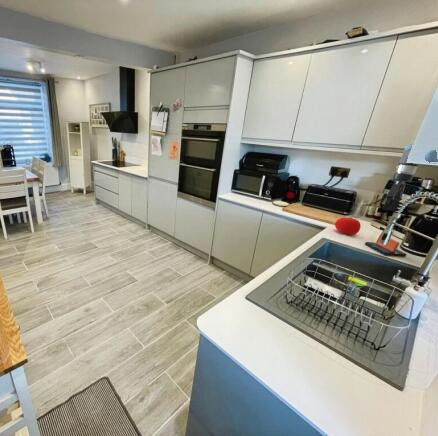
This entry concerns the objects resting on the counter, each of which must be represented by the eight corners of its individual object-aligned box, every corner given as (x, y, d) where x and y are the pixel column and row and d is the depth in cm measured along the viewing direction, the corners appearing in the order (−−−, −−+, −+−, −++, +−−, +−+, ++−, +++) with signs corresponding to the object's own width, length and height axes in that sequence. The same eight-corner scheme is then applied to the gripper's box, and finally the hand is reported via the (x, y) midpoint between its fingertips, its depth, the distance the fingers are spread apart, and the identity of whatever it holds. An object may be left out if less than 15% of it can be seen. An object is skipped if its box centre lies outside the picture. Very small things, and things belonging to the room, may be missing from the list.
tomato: (351, 238, 159) (358, 222, 155) (329, 230, 171) (334, 215, 167) (361, 235, 165) (367, 220, 161) (339, 228, 176) (344, 213, 172)
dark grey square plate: (409, 257, 137) (410, 254, 136) (382, 255, 137) (384, 252, 136) (385, 245, 151) (386, 242, 150) (361, 243, 151) (362, 240, 151)
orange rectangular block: (395, 252, 138) (400, 242, 136) (392, 251, 138) (397, 242, 136) (378, 243, 149) (383, 234, 146) (376, 243, 149) (380, 234, 146)
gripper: (400, 175, 144) (386, 209, 149) (389, 170, 130) (374, 207, 135) (418, 177, 138) (402, 212, 143) (408, 172, 124) (392, 211, 129)
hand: (388, 210), depth 139 cm, fingers open, 13 cm apart
